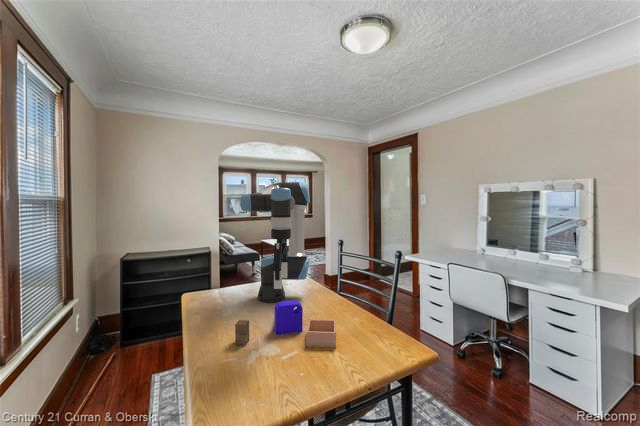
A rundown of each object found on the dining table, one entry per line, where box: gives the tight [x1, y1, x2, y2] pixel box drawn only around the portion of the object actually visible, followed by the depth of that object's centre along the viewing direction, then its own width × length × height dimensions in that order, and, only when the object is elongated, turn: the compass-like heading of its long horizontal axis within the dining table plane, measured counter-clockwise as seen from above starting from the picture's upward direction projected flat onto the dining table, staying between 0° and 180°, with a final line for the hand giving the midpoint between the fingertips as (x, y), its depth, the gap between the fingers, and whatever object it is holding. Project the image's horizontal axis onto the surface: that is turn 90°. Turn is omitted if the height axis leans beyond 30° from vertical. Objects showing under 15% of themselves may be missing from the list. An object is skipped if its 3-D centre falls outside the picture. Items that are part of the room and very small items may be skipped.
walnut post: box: [234, 319, 250, 347], centre depth 102 cm, size 4×4×8 cm
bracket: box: [274, 299, 304, 336], centre depth 118 cm, size 18×11×12 cm, turn 17°
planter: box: [305, 318, 337, 349], centre depth 105 cm, size 11×11×6 cm
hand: (281, 283), depth 104 cm, fingers open, 13 cm apart
